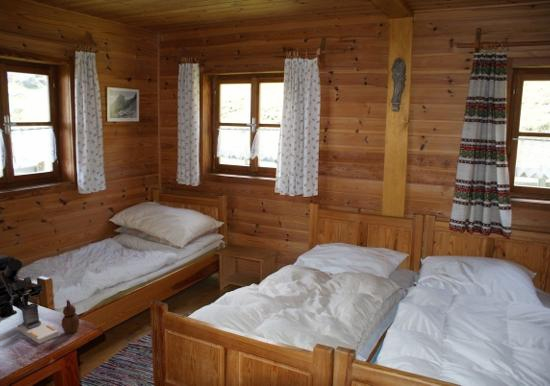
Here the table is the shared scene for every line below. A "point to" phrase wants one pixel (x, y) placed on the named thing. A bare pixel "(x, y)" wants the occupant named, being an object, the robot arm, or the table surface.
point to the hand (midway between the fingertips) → (27, 312)
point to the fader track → (39, 332)
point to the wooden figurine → (70, 319)
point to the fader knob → (30, 315)
